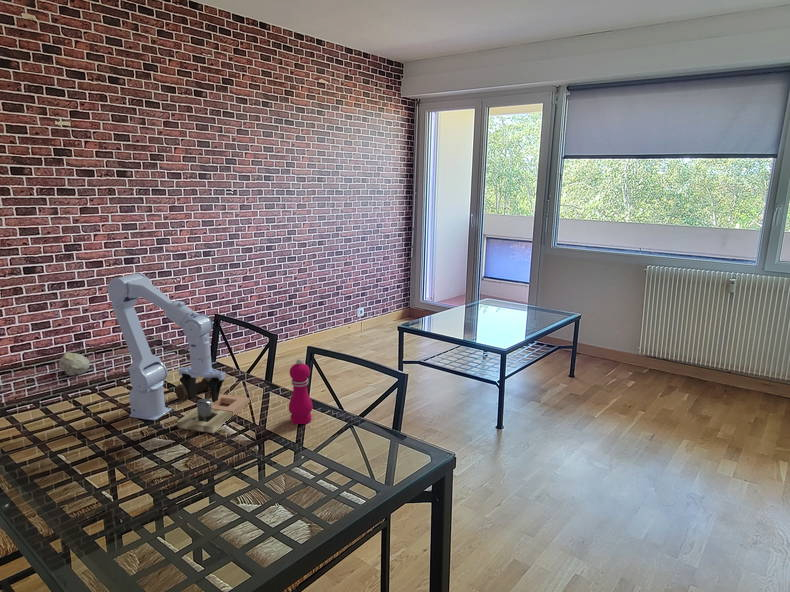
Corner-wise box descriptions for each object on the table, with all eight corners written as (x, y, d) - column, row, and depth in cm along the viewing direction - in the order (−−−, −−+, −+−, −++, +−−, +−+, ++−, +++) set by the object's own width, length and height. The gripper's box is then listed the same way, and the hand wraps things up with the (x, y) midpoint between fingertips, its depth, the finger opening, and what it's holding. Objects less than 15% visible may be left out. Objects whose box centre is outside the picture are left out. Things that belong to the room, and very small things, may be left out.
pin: (195, 424, 155) (193, 403, 153) (203, 418, 159) (202, 397, 157) (207, 426, 154) (205, 405, 152) (215, 420, 158) (213, 399, 156)
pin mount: (177, 427, 153) (177, 421, 152) (198, 412, 162) (197, 407, 162) (213, 433, 150) (212, 426, 150) (232, 417, 159) (231, 412, 159)
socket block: (199, 412, 163) (198, 406, 162) (217, 399, 172) (217, 393, 172) (233, 417, 160) (232, 411, 159) (249, 403, 169) (249, 398, 169)
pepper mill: (317, 418, 160) (316, 357, 156) (304, 428, 154) (302, 365, 149) (298, 413, 163) (296, 353, 159) (284, 422, 157) (282, 360, 152)
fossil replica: (83, 366, 200) (55, 376, 192) (77, 345, 197) (49, 355, 190) (98, 370, 193) (70, 381, 185) (92, 350, 191) (63, 359, 183)
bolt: (219, 391, 183) (181, 404, 171) (211, 381, 185) (173, 394, 173) (224, 379, 181) (186, 392, 168) (216, 370, 183) (178, 382, 170)
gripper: (170, 358, 149) (174, 402, 152) (214, 363, 146) (217, 408, 149) (185, 350, 156) (189, 392, 159) (228, 355, 152) (231, 398, 155)
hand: (203, 399), depth 154 cm, fingers open, 7 cm apart
